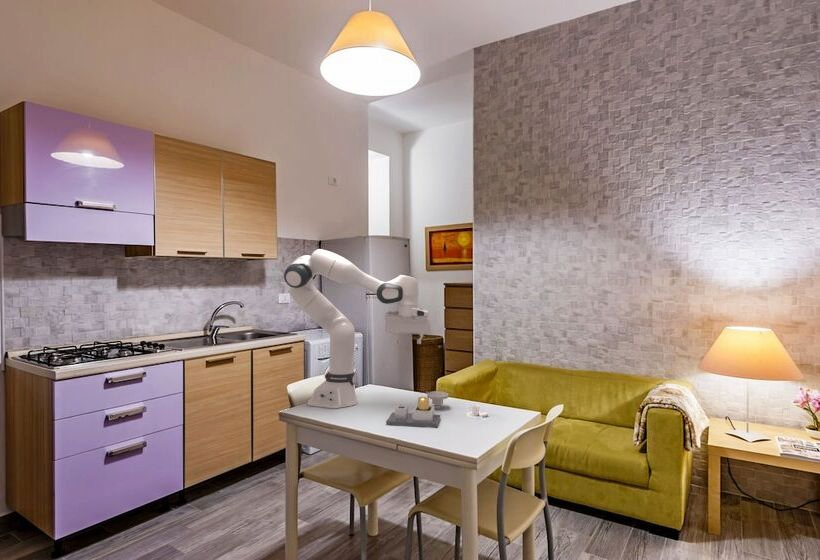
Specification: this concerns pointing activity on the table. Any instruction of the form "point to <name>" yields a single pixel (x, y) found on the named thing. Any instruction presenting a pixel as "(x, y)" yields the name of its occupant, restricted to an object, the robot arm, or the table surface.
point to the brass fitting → (423, 403)
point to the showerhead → (437, 397)
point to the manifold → (414, 417)
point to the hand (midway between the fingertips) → (408, 343)
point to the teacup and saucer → (476, 412)
